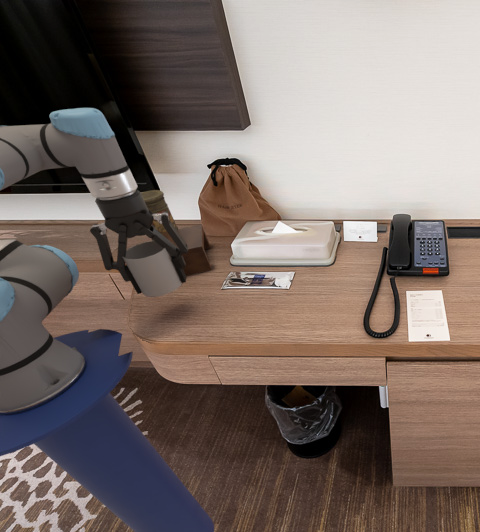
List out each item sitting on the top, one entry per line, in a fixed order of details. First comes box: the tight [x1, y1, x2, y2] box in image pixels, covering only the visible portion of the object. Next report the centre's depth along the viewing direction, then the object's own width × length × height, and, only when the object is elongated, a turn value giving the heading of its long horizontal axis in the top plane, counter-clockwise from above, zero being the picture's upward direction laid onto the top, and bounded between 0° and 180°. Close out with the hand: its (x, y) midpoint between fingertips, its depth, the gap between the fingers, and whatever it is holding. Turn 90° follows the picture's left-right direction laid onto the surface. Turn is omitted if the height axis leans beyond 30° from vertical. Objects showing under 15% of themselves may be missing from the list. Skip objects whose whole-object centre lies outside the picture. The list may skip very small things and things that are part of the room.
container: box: [140, 189, 179, 241], centre depth 109 cm, size 9×9×18 cm
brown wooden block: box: [161, 224, 212, 277], centre depth 103 cm, size 12×16×8 cm
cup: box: [123, 240, 183, 298], centre depth 78 cm, size 8×8×10 cm
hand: (162, 284), depth 81 cm, fingers closed on cup, 8 cm apart
